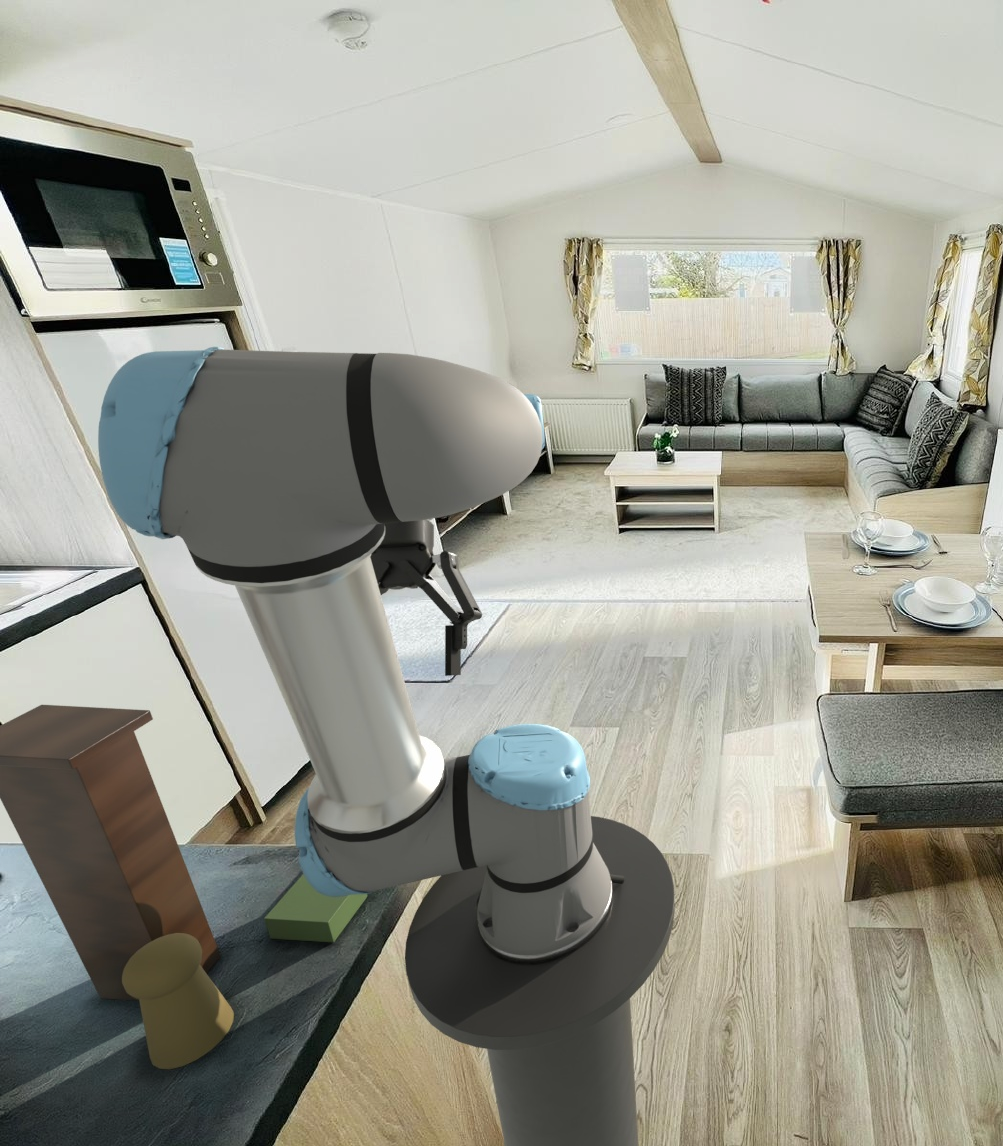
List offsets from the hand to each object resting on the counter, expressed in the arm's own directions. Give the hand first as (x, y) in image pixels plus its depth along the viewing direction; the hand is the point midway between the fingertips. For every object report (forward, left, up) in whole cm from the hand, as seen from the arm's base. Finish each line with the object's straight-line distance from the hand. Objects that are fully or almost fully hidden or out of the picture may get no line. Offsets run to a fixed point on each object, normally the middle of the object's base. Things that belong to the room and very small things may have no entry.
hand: (400, 679), depth 84 cm
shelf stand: (+12, +28, -19) cm, 36 cm away
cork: (+4, +33, -19) cm, 38 cm away
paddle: (+1, +15, -19) cm, 25 cm away
